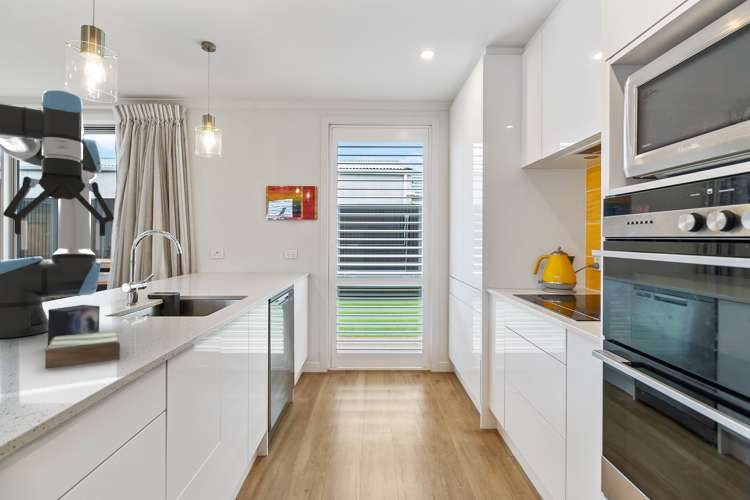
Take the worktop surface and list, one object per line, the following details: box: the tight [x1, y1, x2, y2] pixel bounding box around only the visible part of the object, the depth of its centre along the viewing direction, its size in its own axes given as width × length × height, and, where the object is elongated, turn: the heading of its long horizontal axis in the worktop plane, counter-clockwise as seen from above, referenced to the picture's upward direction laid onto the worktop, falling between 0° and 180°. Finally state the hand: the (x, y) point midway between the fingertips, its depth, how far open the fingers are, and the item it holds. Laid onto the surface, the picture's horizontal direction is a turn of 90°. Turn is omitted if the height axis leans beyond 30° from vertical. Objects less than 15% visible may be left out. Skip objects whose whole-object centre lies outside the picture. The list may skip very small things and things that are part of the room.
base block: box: [44, 330, 121, 369], centre depth 99 cm, size 16×14×4 cm
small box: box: [46, 304, 101, 348], centre depth 111 cm, size 11×6×10 cm, turn 168°
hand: (62, 249), depth 93 cm, fingers open, 13 cm apart
